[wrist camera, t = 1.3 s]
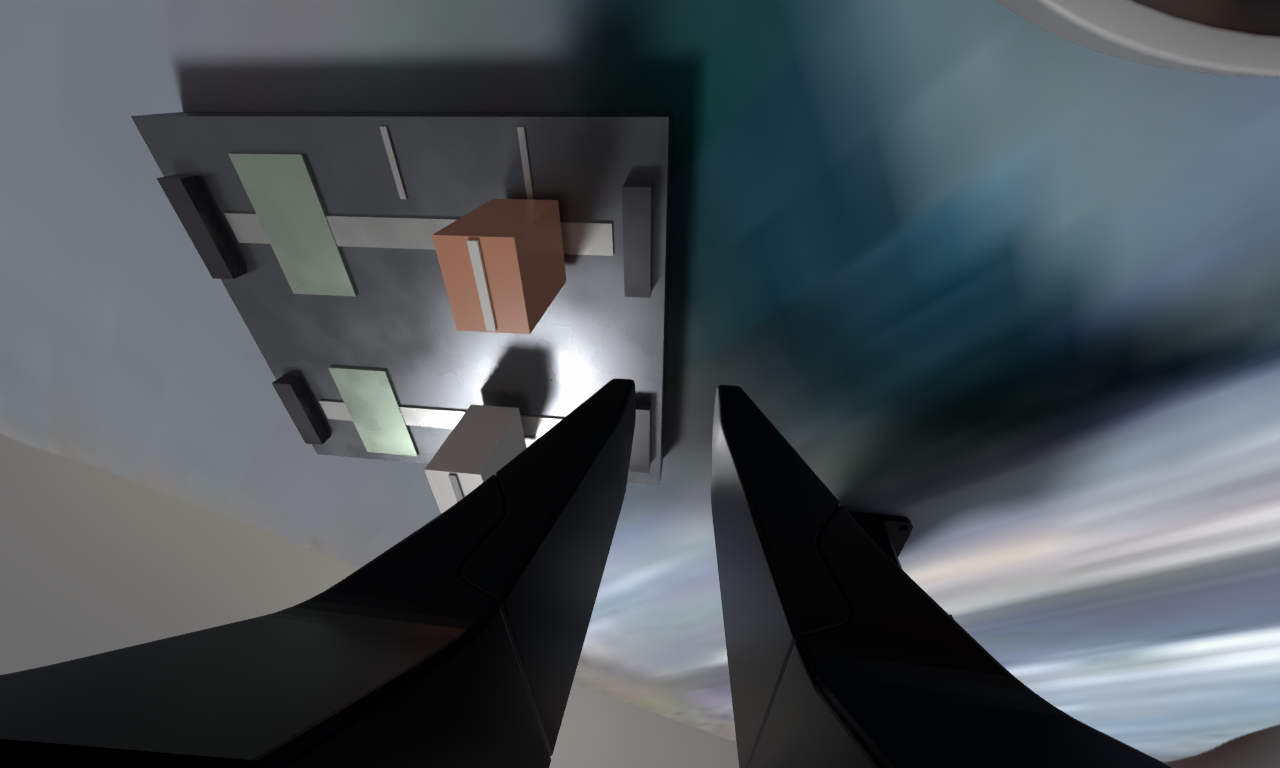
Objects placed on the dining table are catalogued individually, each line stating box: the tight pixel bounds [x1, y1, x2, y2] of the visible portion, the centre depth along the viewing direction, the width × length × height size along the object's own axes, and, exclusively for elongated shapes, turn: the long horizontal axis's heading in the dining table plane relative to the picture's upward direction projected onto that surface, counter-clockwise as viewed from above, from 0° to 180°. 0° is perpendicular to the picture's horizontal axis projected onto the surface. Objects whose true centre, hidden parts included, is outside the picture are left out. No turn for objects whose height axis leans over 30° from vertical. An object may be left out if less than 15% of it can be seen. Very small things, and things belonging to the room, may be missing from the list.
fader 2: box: [424, 405, 527, 514], centre depth 21 cm, size 3×2×4 cm
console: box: [131, 112, 673, 485], centre depth 21 cm, size 17×20×3 cm
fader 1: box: [432, 199, 566, 334], centre depth 15 cm, size 3×2×4 cm
